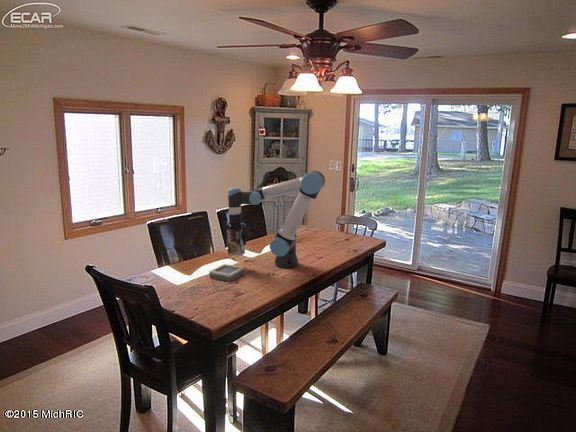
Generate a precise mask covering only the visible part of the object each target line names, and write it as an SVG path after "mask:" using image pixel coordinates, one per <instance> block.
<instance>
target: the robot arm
mask: <svg viewBox="0 0 576 432" xmlns="http://www.w3.org/2000/svg"><path fill="white" fill-rule="evenodd" d="M325 178H326V177H325V175H324V174H323V173H322V172H320V171H318V170H312V171H310V172H307V173H305V174H302V175H301V176H300V177H297V178H294V179H290V180H285V181H283V182H278V183H275V184H271V185H267V186H262V187H257V188H254V189H253V190H250V191H242V189H241V188H240V187H231V188H228V190H227V198H228V199H227V200H228V202H227V203H228V221H225V222H224V225H225V226H224V230H223V237H224V238H226V240H227V229H232V228H233V229H234V228H235V229H237V230H240V229H243V231H242V232H241V237H242V240H241V245H242V251H243V250H245V251H246V245H247V240H249V232H248V230H247V223H246V222H242V205H254V206H255V205H260V203H261V201H263V200H267V199H271V198H275V197H280V196H283V195H287V194H292V193H295V192H296V193H297V192H298V194H297V196H296V198H295V200H294V202H293V204H292V207H291V209H290V211H289V213H288V214H287V216H286V218H285V220H284V223H283V225H282V226H281V228H278V230H277V231H276V233H275V236H274V238H273V239H272V240H271V241H270V242H269V249H270V252H271V253H272V254H273V255H274V256H275V258H274V266H275V267H277V268H281V269H291V268H293V269H294V268H297V267H298V266H299V259H298V255H297V230H298V228H299V226H300V224H301V223H302V221H303V219H304V217H305V214H306V213H307V210H308V209H309V207H310V205H311V203H312V201H314V200H316V199H317V197H318V195H319V193H320V191H321V190H322V189H323V187H325V183H326V179H325ZM226 244H228V242H227V241H226Z"/></svg>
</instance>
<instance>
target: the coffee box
mask: <svg viewBox="0 0 576 432" xmlns="http://www.w3.org/2000/svg"><path fill="white" fill-rule="evenodd" d="M242 231H243V229H240V230H237V229H235V228H234V229H233V228H232V229H227V239H226V243H227V242H228V243H227V255H229V256H239V257H240V256H243V255H245V254H246V249H245V250H243V251H242V245H241V240H242V237H241V232H242Z"/></svg>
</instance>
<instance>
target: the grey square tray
mask: <svg viewBox="0 0 576 432" xmlns="http://www.w3.org/2000/svg"><path fill="white" fill-rule="evenodd" d="M244 274H245V267H243V266H239V265H237V266H236V265H232V264H227V263H223V264H221V265H219V266H217V267H215V268H213V269H211V270H209V278H212V279H215V280H216V279H218V280H220V281H221V280H222V281H227V282H231V281H233V280H235V279H237V278H239V277H240V276H242V275H244Z"/></svg>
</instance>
